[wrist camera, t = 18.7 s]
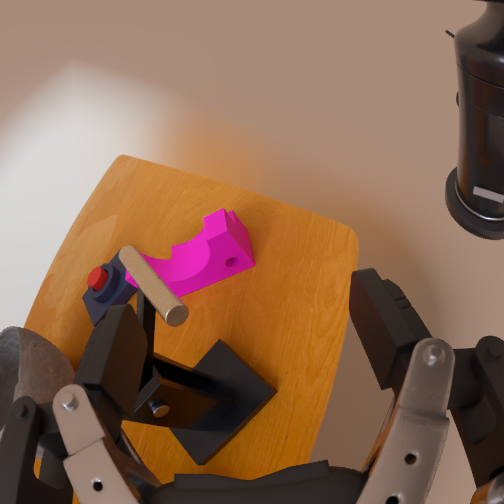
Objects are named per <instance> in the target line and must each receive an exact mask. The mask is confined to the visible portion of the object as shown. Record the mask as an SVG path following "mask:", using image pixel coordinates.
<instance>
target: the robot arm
mask: <svg viewBox="0 0 504 504" xmlns="http://www.w3.org/2000/svg"><path fill="white" fill-rule="evenodd" d="M475 1H484V2H487V6H486V10H485V12H484V13H483V14H482V16H481V17H480V18H478V19H477V20H476V21H475V22H473V23H471V24H469V25H468V26H465V27H463V28H461V29H460V30H459V31H457V33H456V34H455V35H453V34H452V33H450V32H449V31H446V33H447V34H449V35H450V36H451V37H453V38H454V49H455V57H456V67H457V79H458V92H457V96H456V101H457V105H458V107H459V149H458V164H457V177H456V180H455V193H456V196H457V198H458V200H459V202H460V204H461V205H462V206H463V207H464V208H465V209H466V210H467V211H468V212H469V213H470V214H471V215H473V216H475V217H476V218H478V219H481V220H483V221H486V222H491V223H499V222H504V0H475ZM349 312H350V317H351V320H352V322H353V324H354V326H355V329H356V331H357V333H358V336H359V338H360V340H361V342H362V345H363V347H364V349H365V352H366V354H367V356H368V359H369V361H370V363H371V366H372V368H373V371H374V373H375V375H376V378H377V380H378V383H379V385H380V388H381V390H384V389H388V388H391V387H392V389H393V392H394V397H393V399H392V402H391V405H390V407H389V410H388V413H387V415H386V418H385V421H384V423H383V426H382V428H381V431H380V433H379V435H378V438H377V440H376V442H375V444H374V447H373V448H372V450H371V452H370V454H369V456H368V458H367V460H366V462H365V464H364V466H363V468H362V470H361V472H359V471H357V470H354V469H349V468H345V467H336V466H331V467H330V466H329V464H328V460H323V461H318V462H314V463H308V464H303V465H297V466H291V467H287V468H285V469H282V470H280V471H277V472H274V473H271V474H269V475H266V476H263V477H260V478H257V479H254V480H242V479H235V478H229V477H224V476H219V475H213V474H175V477H174V481H173V482H170V483H167V484H164V485H162V484H161V482H160V481H159V480H158V479H157V478H156V477H155V476H154V475H153V474H152V473H151V472H150V471H149V470H148V468H147V467H146V466H145V464H144V463H143V461H142V460H141V458H140V457H139V455H138V454H137V452H136V450H135V449H134V447H133V446H132V444H131V442H130V441H129V439H128V437H127V436H126V434H125V432H124V431H123V429H122V428H121V423H122V420H131V421H133V419H134V413H135V407H136V402H137V396H138V391H139V386H140V381H141V376H142V371H143V366H144V361H145V357H146V352H147V346H148V343H147V336H146V333H145V331H144V329H143V327H142V325H141V323H140V321H139V319H138V317H137V315H136V313H135V311H134V309H133V307H132V306H131V305H130V304H123V305H114V306H110V307H109V309H108V312H107V314H106V317H105V319H104V320H101V321H100V322H99V323H98V324H97V326H96V327H95V328H94V329H93V331H92V333H91V335H90V338H89V340H88V342H89V343H87V345H86V348H85V352H84V353H83V356H82V359H81V361H80V364H79V367H78V369H77V372H76V375H75V378H74V381H73V383H72V384H71V385H67V386H65V387H63V388H62V389H60V390H59V391H58V393H57V394H56V395H55V397H54V400H53V401H49V402H45V403H41V404H37V403H36V402H35V401H34V400H33V399H32V398H31V397H29V396H22V397H19V398H18V399H17V400H15V402H14V403H13V404H12V406H11V408H10V411H9V414H8V417H7V420H6V423H5V427H4V430H3V434H2V437H1V441H0V504H72V501H73V489H74V491H75V493H76V495H77V497H78V499H79V501H80V503H81V504H424V503H425V501H426V498H427V496H428V493H429V491H430V488H431V485H432V482H433V480H434V477H435V474H436V471H437V468H438V465H439V462H440V458H441V455H442V452H443V448H444V444H445V441H446V437H447V433H448V428H449V418H447V417H446V410H449V409H450V411H451V414H452V416H453V419H454V422H455V424H456V427H457V429H458V432H459V435H460V438H461V440H462V443H463V446H464V449H465V452H466V455H467V458H468V461H469V464H470V467H471V470H472V474H473V477H474V481H475V484H476V488H477V490H476V491H475V493H474V495H473V497H472V499H471V503H470V504H504V341H503V340H501V339H500V338H498V337H495V336H486V337H483V338H481V339H480V340H479V342H478V343H477V345H476V347H475V348H467V349H452V348H451V346H450V345H449V344H448V343H446V342H445V341H443V340H441V339H437V338H433V337H432V336H431V334H430V333H429V331H428V330H427V328H426V326H425V325H424V323H423V322H422V320H421V319H420V317H419V316H418V314H417V313H416V311H415V309H414V308H413V307H412V306H411V303H410V302H409V301H408V299H406V296H405V295H404V293H403V292H402V290H401V289H400V287H399V286H397V285H396V284H394V283H393V282H391V281H390V280H389V279H386V280H382V279H381V278H380V276H379V275H378V274H377V272H376V270H375V269H374V268H369V269H363V270H359V271H353V272H352V275H351V286H350V297H349ZM38 445H39V446H40V447H41V448H43V449H44V452H43V457H42V462H41V468H40V474H39V479H37V478H36V476H35V474H34V470H33V467H34V462H35V457H36V452H37V447H38Z"/></svg>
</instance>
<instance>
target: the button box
mask: <svg viewBox="0 0 504 504" xmlns="http://www.w3.org/2000/svg"><path fill="white" fill-rule="evenodd" d="M120 250H121V249H120ZM120 250H119V251H118V253H117V254H116V255H115V256H114V257H113V259H112V260H111V261H110V262H109V264H103V265H102V266H100V268H101V269H103V270H104V271H106V272H107V273H108V278H107V280H106V283H105V285H104V286H103V287H102V288H101V289H100V290H99V291H96V290H95V289H93V288H92V287H90V286H89V285H88V290H87V291H86V293H85V294H84V295H83V297H82V298H83V301H84V303H85V306H86V308H87V311H88V313H89V316H90V318H91V320H92V323H93V325H94V327H96V326H97V324H98V323H99V322H100V321H101V320H104V319H105V317H106V314H107V312H108V309H109V307H110V306H114V305H123V304H126V303H127V301H128V300H129V299H130V298H131V297H132V295H133V294H134V293H135V292H136V291H137V288H136V287H135V286H133V285H132V284H130V283H129V282H128V281H126V280H125V279H126V268H125V266H124V265H123V263H122V262H121V260H120V259H119V252H120Z"/></svg>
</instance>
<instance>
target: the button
mask: <svg viewBox="0 0 504 504" xmlns="http://www.w3.org/2000/svg"><path fill="white" fill-rule="evenodd" d="M107 278H108V273H107V272H106V271H104V270H103V269H101V268H100V267H96V268H95V269H93V271H92V272H91V273H90V275H89V277H88V285H89V286H90V287H92V288H93V289H95V290H96V291H99V290H100V289H101V288H102V287H103V286H104V285H105V283H106V280H107Z"/></svg>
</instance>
